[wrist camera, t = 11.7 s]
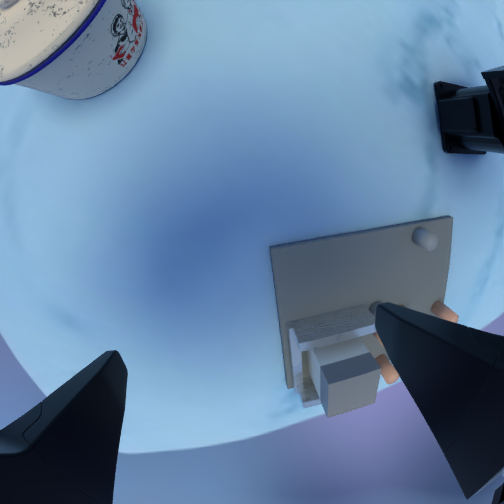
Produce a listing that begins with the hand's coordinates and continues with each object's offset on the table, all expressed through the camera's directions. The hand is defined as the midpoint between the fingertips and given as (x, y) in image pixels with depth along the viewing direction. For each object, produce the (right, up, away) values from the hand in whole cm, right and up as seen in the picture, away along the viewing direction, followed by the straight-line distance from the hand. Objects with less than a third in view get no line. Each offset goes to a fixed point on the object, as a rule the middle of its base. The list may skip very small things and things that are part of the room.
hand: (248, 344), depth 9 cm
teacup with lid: (-12, +19, +5) cm, 23 cm away
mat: (+11, -2, +15) cm, 18 cm away
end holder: (+7, -5, +15) cm, 18 cm away
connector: (+7, -5, +15) cm, 17 cm away
